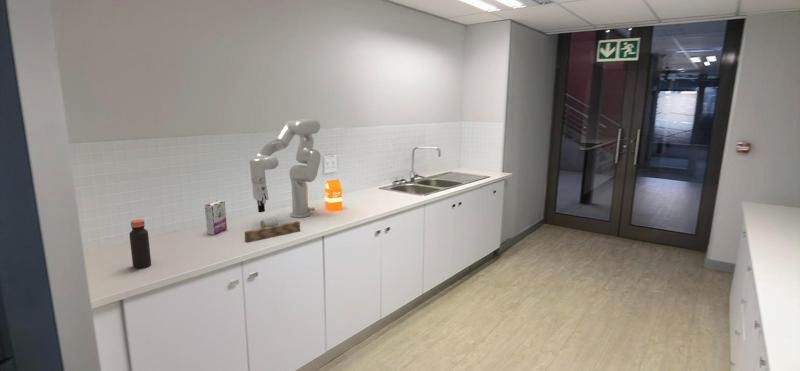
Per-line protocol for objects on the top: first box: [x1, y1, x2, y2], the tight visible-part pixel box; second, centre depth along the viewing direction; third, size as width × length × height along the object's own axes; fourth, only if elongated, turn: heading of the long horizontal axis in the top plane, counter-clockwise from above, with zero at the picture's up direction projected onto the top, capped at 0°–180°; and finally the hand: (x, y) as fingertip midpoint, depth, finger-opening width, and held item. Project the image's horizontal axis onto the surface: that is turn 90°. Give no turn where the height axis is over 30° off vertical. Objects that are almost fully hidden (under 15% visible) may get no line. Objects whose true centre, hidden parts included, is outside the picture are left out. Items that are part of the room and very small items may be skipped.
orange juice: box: [324, 178, 343, 212], centre depth 283 cm, size 8×9×20 cm
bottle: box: [129, 219, 152, 270], centre depth 183 cm, size 7×7×20 cm
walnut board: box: [243, 220, 301, 243], centre depth 228 cm, size 30×2×5 cm, turn 132°
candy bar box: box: [204, 200, 228, 236], centre depth 233 cm, size 11×5×16 cm, turn 168°
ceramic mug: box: [259, 216, 280, 228], centre depth 234 cm, size 11×8×8 cm
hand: (261, 211), depth 244 cm, fingers closed
